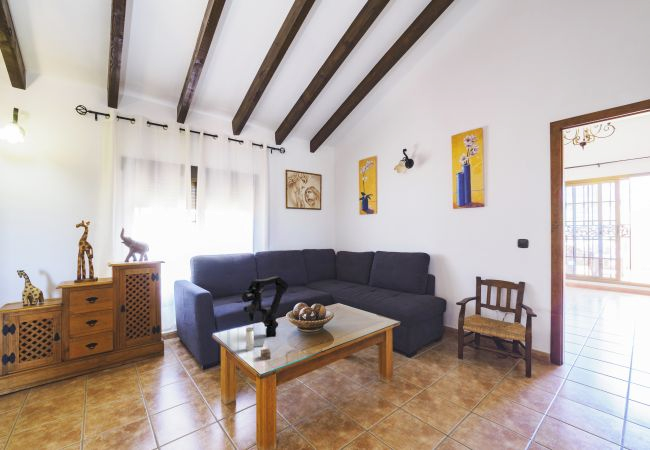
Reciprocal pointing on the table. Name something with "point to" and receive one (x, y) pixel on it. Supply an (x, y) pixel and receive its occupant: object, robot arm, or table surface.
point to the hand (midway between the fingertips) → (257, 322)
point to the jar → (250, 339)
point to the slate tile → (259, 343)
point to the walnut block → (265, 354)
